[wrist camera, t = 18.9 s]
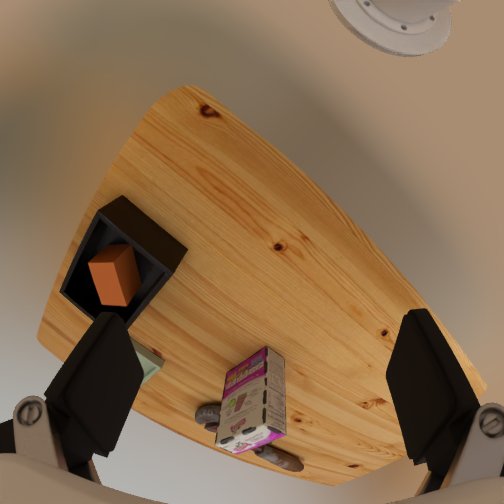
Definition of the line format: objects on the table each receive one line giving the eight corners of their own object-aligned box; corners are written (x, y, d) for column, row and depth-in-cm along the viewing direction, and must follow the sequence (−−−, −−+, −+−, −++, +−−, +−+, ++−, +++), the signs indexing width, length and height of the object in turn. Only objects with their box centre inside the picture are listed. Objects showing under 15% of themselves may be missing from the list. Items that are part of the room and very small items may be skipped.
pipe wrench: (186, 409, 60) (181, 426, 56) (221, 393, 56) (217, 412, 51) (292, 463, 71) (292, 477, 66) (327, 452, 67) (328, 466, 62)
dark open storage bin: (122, 194, 39) (97, 210, 33) (188, 249, 42) (173, 273, 36) (80, 270, 45) (59, 291, 39) (134, 315, 48) (118, 340, 42)
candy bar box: (245, 384, 54) (236, 456, 39) (225, 372, 53) (211, 445, 38) (287, 358, 50) (287, 436, 35) (267, 344, 49) (262, 425, 34)
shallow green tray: (115, 326, 50) (111, 333, 48) (164, 360, 53) (161, 368, 51) (90, 362, 57) (86, 369, 55) (130, 390, 59) (127, 397, 57)
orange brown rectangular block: (107, 244, 41) (87, 262, 36) (131, 243, 41) (113, 262, 36) (118, 283, 44) (101, 304, 39) (142, 284, 44) (126, 306, 39)
